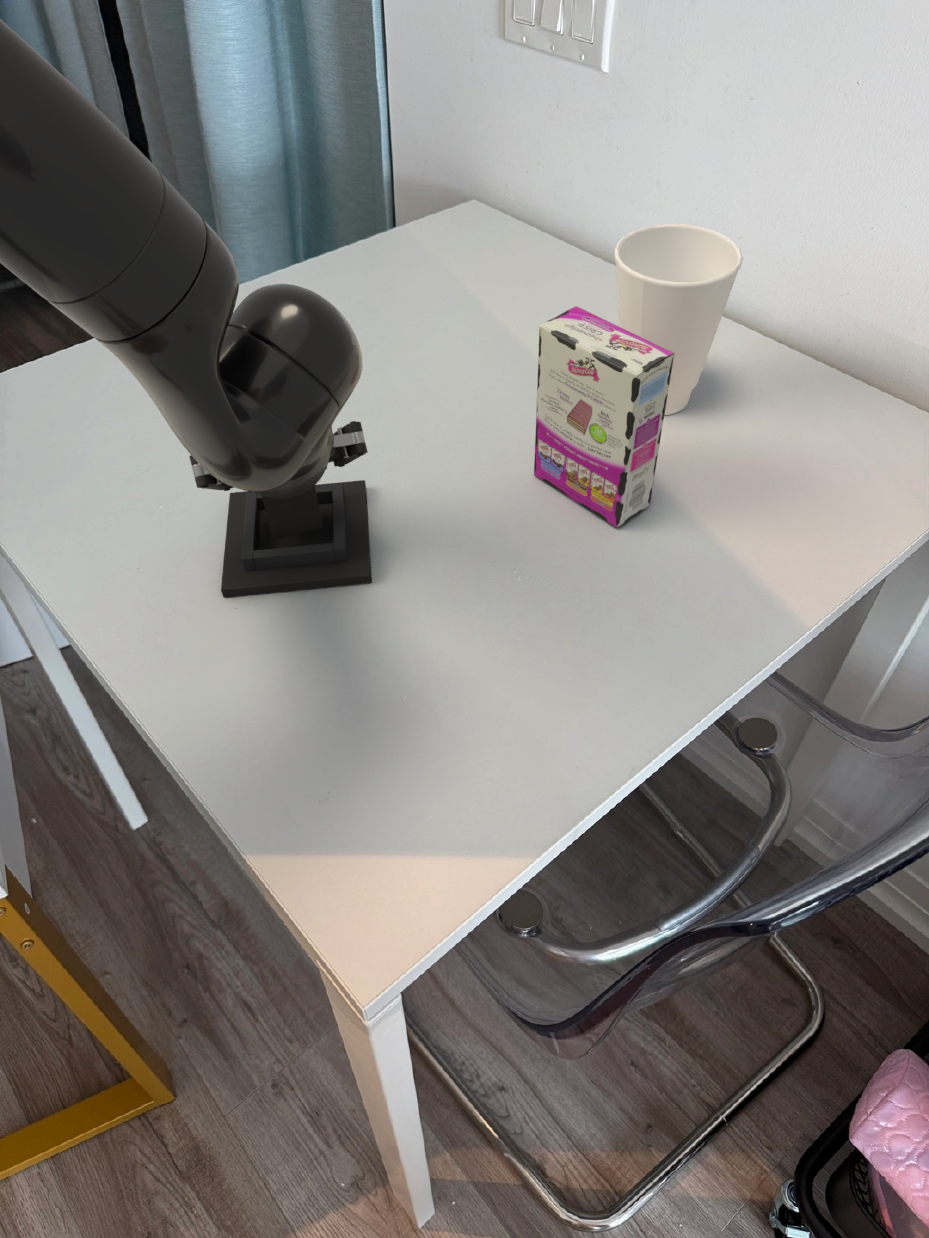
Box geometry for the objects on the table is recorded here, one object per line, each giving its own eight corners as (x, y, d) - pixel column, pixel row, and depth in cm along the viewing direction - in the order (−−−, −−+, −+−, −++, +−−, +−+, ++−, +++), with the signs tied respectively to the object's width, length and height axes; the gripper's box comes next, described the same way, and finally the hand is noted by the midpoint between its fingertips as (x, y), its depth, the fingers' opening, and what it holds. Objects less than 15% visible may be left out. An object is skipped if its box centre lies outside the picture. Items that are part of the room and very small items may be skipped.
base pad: (223, 598, 79) (216, 578, 77) (231, 500, 88) (226, 480, 86) (371, 583, 80) (368, 563, 78) (366, 487, 88) (363, 467, 86)
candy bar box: (653, 505, 85) (678, 352, 73) (617, 531, 83) (638, 377, 71) (566, 452, 91) (576, 301, 79) (531, 475, 89) (536, 323, 77)
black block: (273, 539, 80) (254, 468, 74) (266, 507, 83) (247, 436, 77) (323, 529, 81) (309, 457, 75) (314, 497, 84) (300, 426, 78)
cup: (733, 390, 97) (766, 246, 85) (674, 444, 91) (700, 298, 79) (640, 353, 102) (658, 211, 90) (578, 401, 97) (589, 258, 85)
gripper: (365, 366, 64) (351, 412, 81) (160, 405, 62) (190, 444, 79) (389, 471, 65) (371, 494, 81) (187, 513, 62) (211, 529, 79)
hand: (282, 469), depth 80 cm, fingers closed on black block, 4 cm apart
